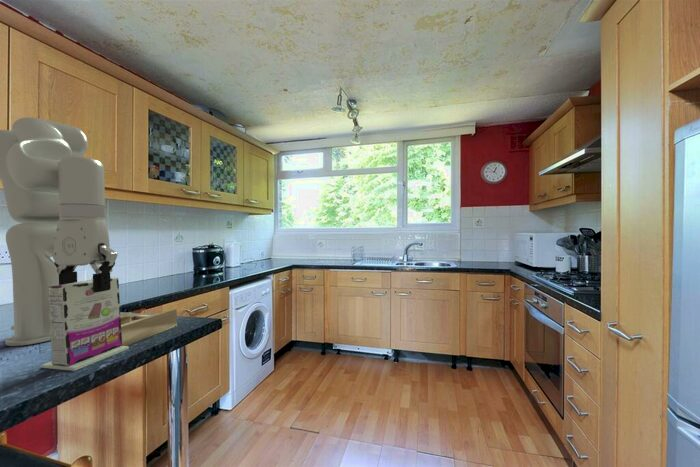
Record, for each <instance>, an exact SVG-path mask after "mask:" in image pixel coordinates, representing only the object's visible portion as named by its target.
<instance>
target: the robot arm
mask: <svg viewBox="0 0 700 467" xmlns="http://www.w3.org/2000/svg"><path fill="white" fill-rule="evenodd" d="M88 148H89V142H88V138H87V136H86V134H85V132H84V131H82V130H81V129H80V128H78V127H76V126H73V125H70V124H64V123H59V122H56V121H53V120H52V121H51V120H48V119H47V120H46V119H44V118H38V117H31V116H29V117H22V118H19V119H18V118H17V119H16V120H15V121H14V122H13V124H12V126H11V130H9V129H0V182H1V184H2V189H3V194H4V199H5V202H6V207H7V211H8V213H9V216H10V218H11V219H13V221H15V222H17V223H18V224H14V225H12V226H11V227H9V228H8V229H7V231H6V234H5V242H6V243H5V244H6V246H7V251H8V255H9V257H10V263H11V272H12V274H11V275H12V276H11V277H12V301H13V302H12V304H13V325H12V326H11V327H10V330H11V331H13V333H14V335H12V336H10V337H8V338H6V340H5V345H6V346H9V347H19V346H20V347H22V346H28V345H29V346H30V345H35V344H39V343H44V342H49V341H50V342H51V334H50V316H49V299H48V287H50V286H56V285H62V284H68V283H74V282H78V271H76V268H77V267H78V266H79V267H80V266H87V265H89V266H90V267H91V268H92V270H93V272H94V273H93V274H92V280H93V292H102V291H107V290H110V289H111V284H110V277H111V273H112V272H113V268H114V266H115V265H116V260H117V257H118V252H117V251H115V250H114V249H112V248H111V247H110V246H111V245H110V237H109V230H108V224H107V220H106V191H105V186H106V185H105V166H104V164H103V163H102V162H101V161H99V160H98V159H95V158H91V157H84V156H85V154H86V153H87V151H88Z"/></svg>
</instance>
